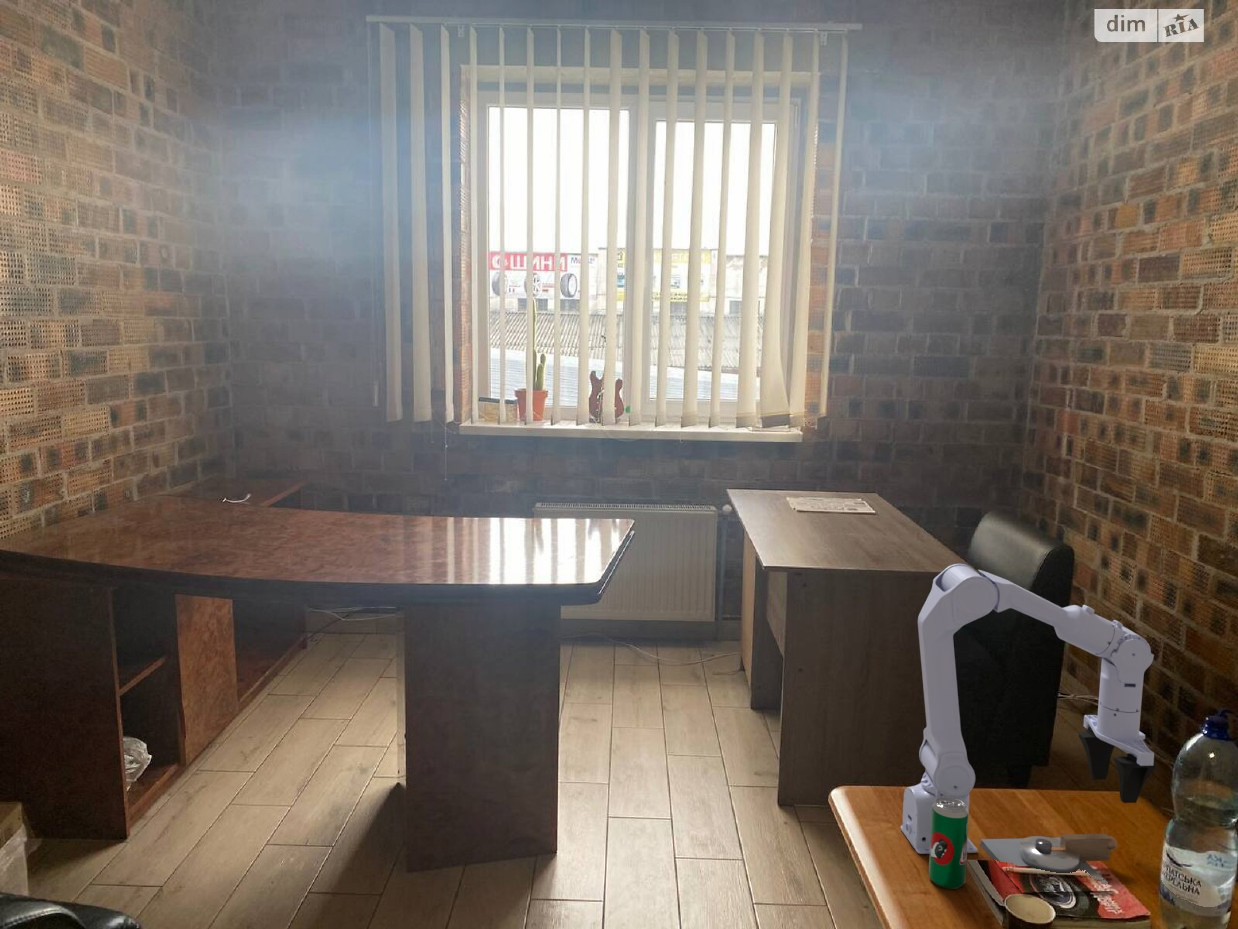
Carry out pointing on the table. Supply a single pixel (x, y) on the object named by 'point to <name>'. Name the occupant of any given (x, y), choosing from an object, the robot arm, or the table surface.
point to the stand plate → (1011, 854)
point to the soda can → (948, 842)
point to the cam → (1066, 851)
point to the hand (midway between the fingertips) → (1113, 790)
